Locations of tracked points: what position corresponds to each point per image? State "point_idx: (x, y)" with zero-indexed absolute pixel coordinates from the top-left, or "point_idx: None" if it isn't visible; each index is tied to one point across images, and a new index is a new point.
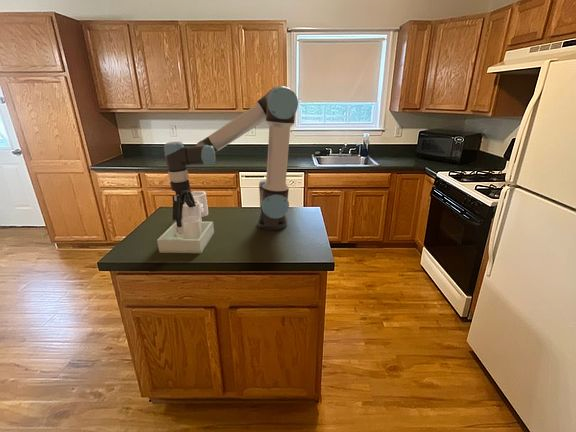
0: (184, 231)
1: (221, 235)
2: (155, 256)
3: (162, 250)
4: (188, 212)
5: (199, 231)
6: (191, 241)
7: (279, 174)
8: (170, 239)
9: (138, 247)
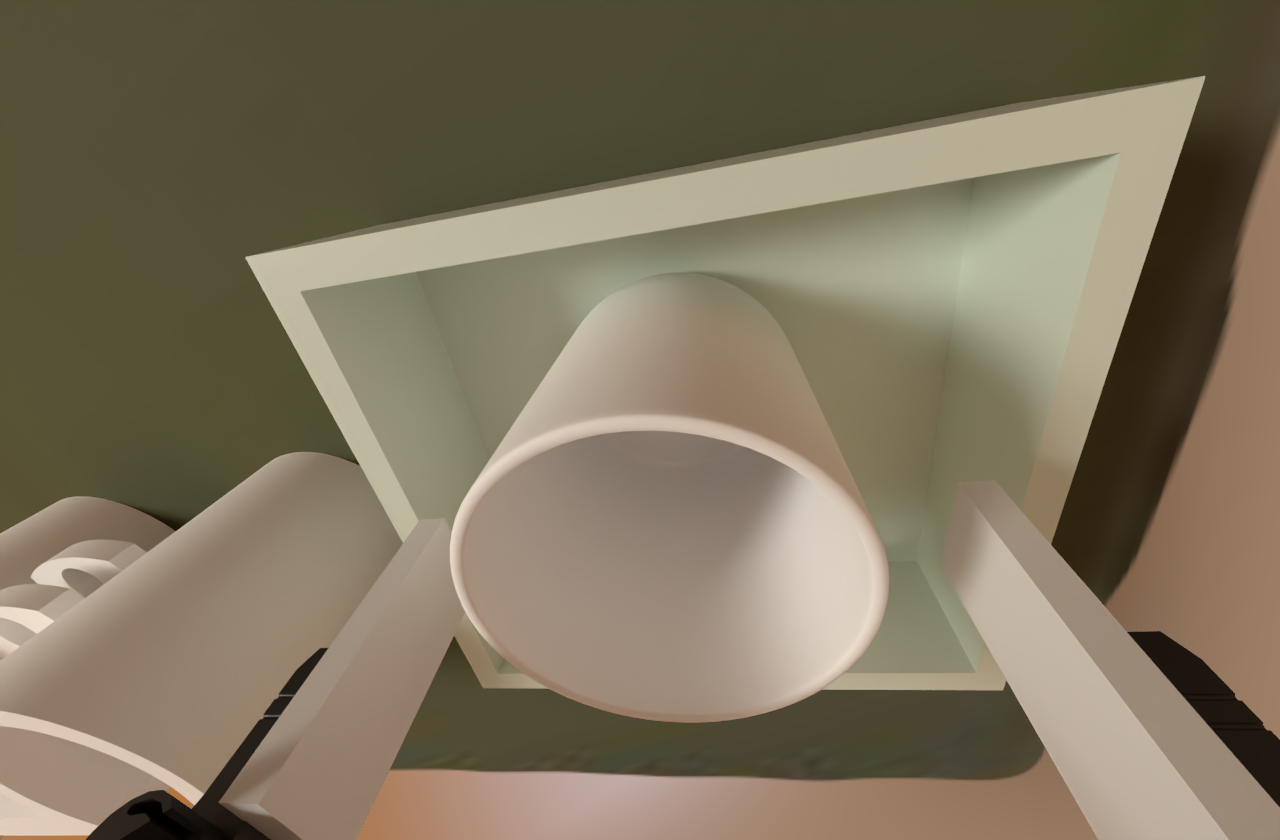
0: (1003, 504)
1: (398, 67)
2: None
3: None
4: (404, 730)
5: (694, 314)
6: (1121, 270)
7: None
8: None
9: (826, 702)
